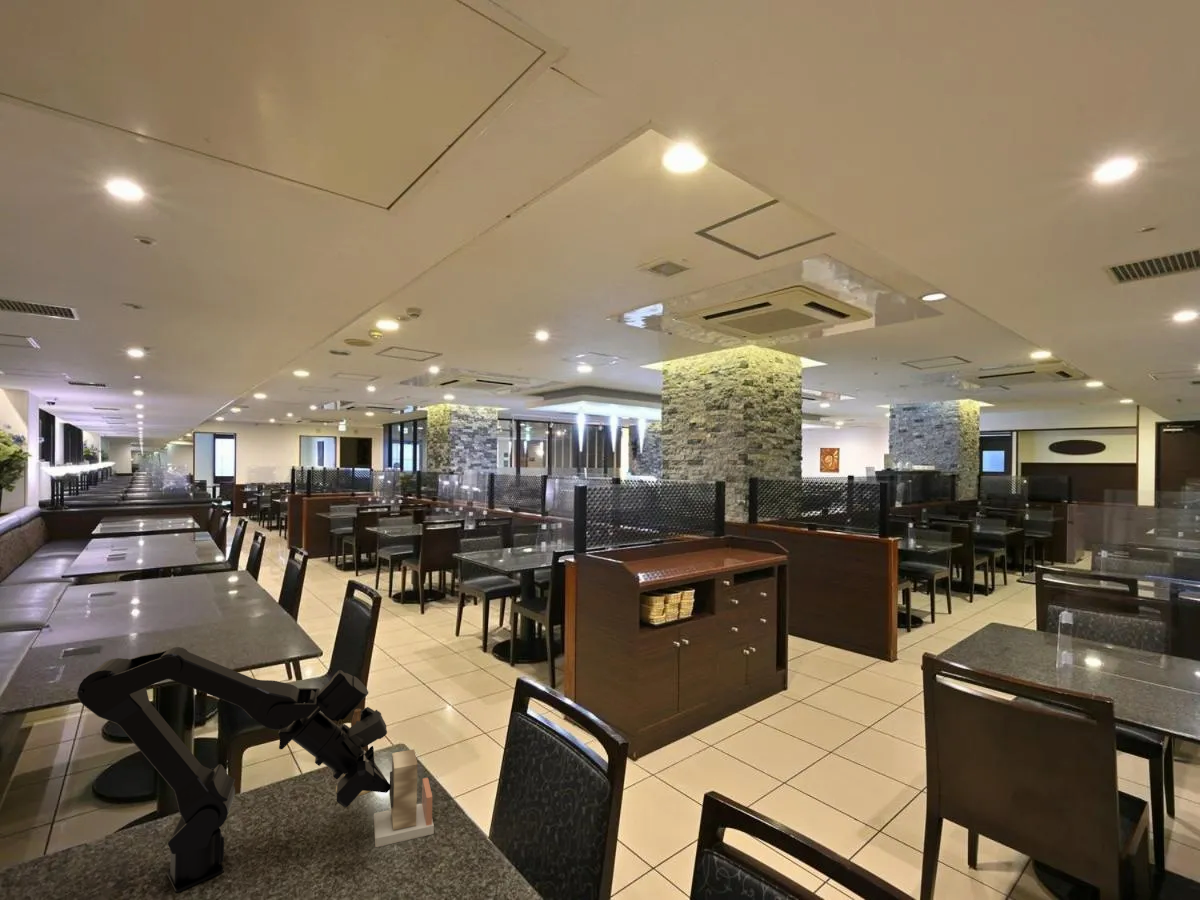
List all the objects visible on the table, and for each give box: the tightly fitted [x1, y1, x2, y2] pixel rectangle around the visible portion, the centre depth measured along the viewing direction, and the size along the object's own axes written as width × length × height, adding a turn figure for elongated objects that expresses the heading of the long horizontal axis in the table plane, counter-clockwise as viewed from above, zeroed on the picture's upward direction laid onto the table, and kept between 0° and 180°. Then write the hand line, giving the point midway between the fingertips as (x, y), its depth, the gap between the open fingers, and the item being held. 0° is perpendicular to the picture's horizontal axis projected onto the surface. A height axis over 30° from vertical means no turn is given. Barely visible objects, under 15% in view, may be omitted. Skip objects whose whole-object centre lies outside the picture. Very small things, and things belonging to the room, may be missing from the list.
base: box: [373, 777, 435, 848], centre depth 108 cm, size 10×8×6 cm
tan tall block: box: [388, 748, 418, 830], centre depth 108 cm, size 4×6×11 cm
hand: (388, 789), depth 107 cm, fingers closed
